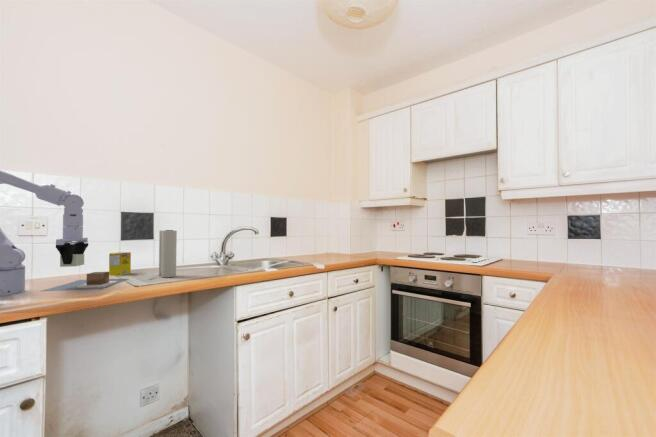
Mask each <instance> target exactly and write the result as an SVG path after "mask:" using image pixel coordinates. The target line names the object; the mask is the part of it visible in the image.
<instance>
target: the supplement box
mask: <svg viewBox="0 0 656 437" xmlns="http://www.w3.org/2000/svg"><path fill="white" fill-rule="evenodd" d="M131 253H132V252H129V251H128V252H125V251H124V252H123V251H121V252H120V251H119V252H112V253H111V252H110V253H109V255H108V257H109V259H108V260H109V261H108V263H109V264H108V272H109V276H124V275H130V274H131V272H132V271H131V269H132V268H131V265H132V261H131V260H132V258H131V256H132V254H131Z"/></svg>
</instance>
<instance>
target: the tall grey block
mask: <svg viewBox="0 0 656 437" xmlns="http://www.w3.org/2000/svg"><path fill="white" fill-rule="evenodd" d="M177 233H178V231H177V230H173V229H165V230H159V234H158V235H159V239H158V240H159V241H158V242H159V244H158V246H159V247H158V248H159V250H158V254H159V255H158V263H159V264H158V276H159V277H161V278H173V277H176V276H177V241H178V240H177V238H178V237H177V236H178V234H177Z"/></svg>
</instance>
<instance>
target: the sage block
mask: <svg viewBox="0 0 656 437" xmlns="http://www.w3.org/2000/svg"><path fill="white" fill-rule="evenodd" d="M59 256H60V257H59V264H60V265H59V267H61V268H62V267H63V268H64V267H79V266H84V265H85V253H84V254H73V258H72V263H71V264H63V261H62V257H61V255H59Z"/></svg>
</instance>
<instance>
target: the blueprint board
mask: <svg viewBox="0 0 656 437" xmlns="http://www.w3.org/2000/svg"><path fill="white" fill-rule="evenodd" d="M128 280H129V278H109V282H108V283H105V284H102V285H86V283H87V279H78V280H75V281H72V282H67V283H64V284H61V285H57V286H53V287H49V288H47V289H44V290H41V292H57V291H58V292H60V291H89V290H90V291H91V290H105V289H107V288H109V287H112V286H115V285H117V284H119V283H122V282H125V281H128Z"/></svg>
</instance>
